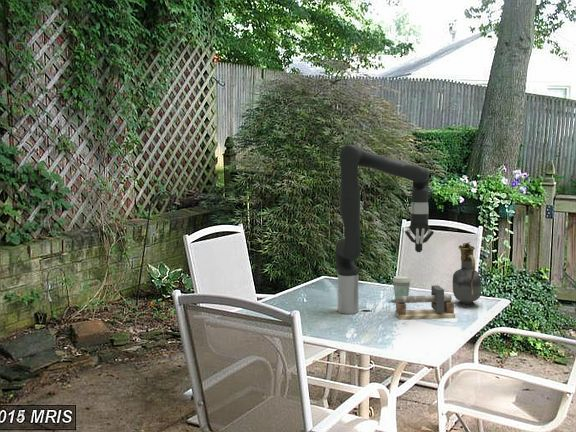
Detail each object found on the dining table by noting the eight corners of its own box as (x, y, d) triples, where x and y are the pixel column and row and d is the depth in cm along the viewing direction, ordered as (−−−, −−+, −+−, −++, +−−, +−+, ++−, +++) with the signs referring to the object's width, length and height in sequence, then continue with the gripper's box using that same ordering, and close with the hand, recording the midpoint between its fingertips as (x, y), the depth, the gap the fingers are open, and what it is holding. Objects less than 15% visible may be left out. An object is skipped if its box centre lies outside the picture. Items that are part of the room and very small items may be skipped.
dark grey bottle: (473, 300, 295) (473, 238, 292) (485, 310, 276) (486, 244, 273) (450, 300, 295) (450, 239, 293) (461, 310, 277) (461, 244, 274)
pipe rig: (400, 319, 264) (400, 298, 263) (395, 313, 274) (394, 293, 273) (455, 317, 265) (455, 297, 264) (448, 312, 275) (448, 292, 274)
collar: (437, 312, 265) (437, 289, 264) (431, 307, 274) (431, 285, 273) (444, 312, 265) (444, 289, 264) (438, 306, 274) (438, 285, 273)
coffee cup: (389, 301, 296) (388, 277, 295) (400, 298, 302) (400, 274, 301) (403, 304, 290) (403, 279, 289) (414, 301, 296) (414, 277, 294)
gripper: (406, 213, 263) (405, 253, 264) (436, 213, 263) (435, 253, 265) (402, 211, 270) (401, 250, 272) (432, 211, 271) (431, 250, 272)
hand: (418, 252), depth 268 cm, fingers closed
